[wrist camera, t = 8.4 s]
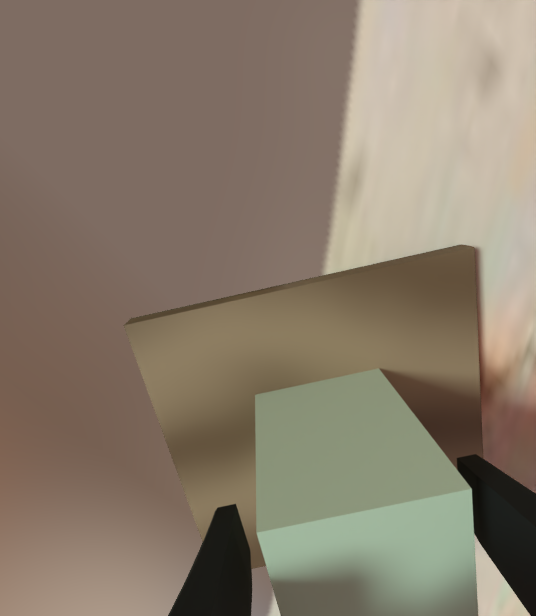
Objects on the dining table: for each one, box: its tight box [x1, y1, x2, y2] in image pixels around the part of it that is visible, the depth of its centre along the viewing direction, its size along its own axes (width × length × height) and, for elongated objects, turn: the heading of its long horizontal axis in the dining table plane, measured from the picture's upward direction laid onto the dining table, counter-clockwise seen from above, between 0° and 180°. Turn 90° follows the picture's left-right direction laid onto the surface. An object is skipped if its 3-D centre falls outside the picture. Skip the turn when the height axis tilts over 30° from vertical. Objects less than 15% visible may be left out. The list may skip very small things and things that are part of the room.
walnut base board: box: [124, 245, 483, 569], centre depth 15 cm, size 13×13×1 cm
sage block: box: [255, 368, 478, 616], centre depth 11 cm, size 5×5×6 cm
